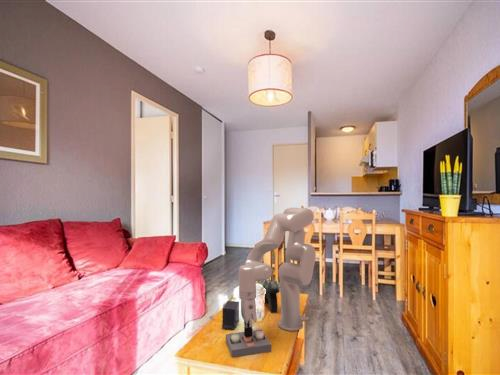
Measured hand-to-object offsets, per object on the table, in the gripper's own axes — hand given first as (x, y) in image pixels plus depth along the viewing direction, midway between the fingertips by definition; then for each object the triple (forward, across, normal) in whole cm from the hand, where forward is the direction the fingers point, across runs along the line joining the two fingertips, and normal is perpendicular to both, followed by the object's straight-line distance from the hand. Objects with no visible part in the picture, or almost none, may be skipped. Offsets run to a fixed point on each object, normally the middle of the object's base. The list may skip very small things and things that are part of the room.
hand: (248, 335), depth 124 cm
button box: (+4, 0, 0) cm, 4 cm away
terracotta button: (+3, 0, 0) cm, 3 cm away
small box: (+5, +22, +3) cm, 23 cm away
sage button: (+2, 0, +6) cm, 6 cm away
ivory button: (+2, 0, -5) cm, 5 cm away
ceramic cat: (+5, +38, -23) cm, 45 cm away
